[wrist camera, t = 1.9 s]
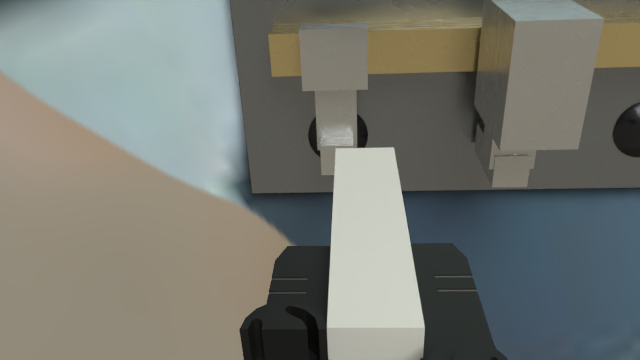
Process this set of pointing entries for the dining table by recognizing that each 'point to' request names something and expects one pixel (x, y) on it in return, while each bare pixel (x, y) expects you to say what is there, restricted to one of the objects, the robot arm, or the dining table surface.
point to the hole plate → (417, 109)
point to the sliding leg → (532, 82)
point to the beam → (398, 61)
